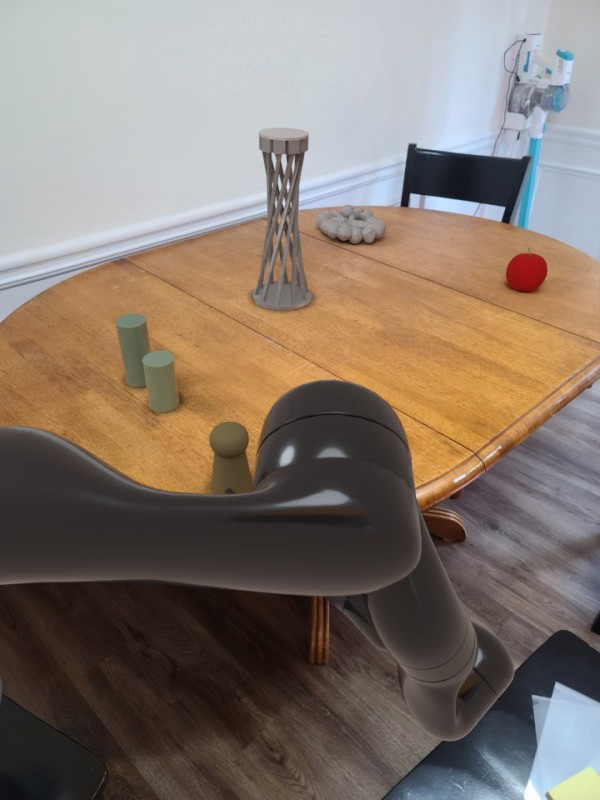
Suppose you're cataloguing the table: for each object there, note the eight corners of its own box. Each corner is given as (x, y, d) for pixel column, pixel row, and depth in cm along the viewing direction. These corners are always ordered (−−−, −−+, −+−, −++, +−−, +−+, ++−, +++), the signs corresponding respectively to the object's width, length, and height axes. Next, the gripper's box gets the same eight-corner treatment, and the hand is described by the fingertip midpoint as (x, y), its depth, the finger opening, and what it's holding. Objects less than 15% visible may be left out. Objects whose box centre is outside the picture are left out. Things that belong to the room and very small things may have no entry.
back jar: (134, 390, 99) (123, 330, 92) (121, 378, 102) (110, 318, 95) (159, 381, 101) (151, 321, 94) (147, 369, 104) (138, 310, 97)
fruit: (531, 280, 142) (542, 241, 136) (548, 295, 135) (560, 255, 129) (496, 280, 141) (506, 242, 135) (511, 296, 134) (522, 256, 128)
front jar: (158, 416, 93) (151, 370, 88) (144, 401, 96) (136, 356, 91) (184, 405, 96) (179, 360, 90) (170, 391, 99) (164, 347, 93)
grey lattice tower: (315, 309, 126) (324, 140, 105) (255, 312, 124) (252, 140, 103) (305, 283, 136) (311, 125, 116) (250, 285, 135) (246, 125, 114)
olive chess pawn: (251, 505, 77) (249, 445, 71) (207, 504, 77) (201, 443, 71) (255, 475, 82) (253, 415, 76) (214, 473, 82) (208, 414, 76)
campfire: (401, 234, 166) (404, 214, 163) (358, 253, 153) (360, 232, 150) (343, 216, 178) (344, 197, 174) (298, 232, 165) (299, 212, 161)
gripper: (388, 509, 64) (299, 435, 74) (288, 573, 56) (204, 481, 67) (380, 552, 68) (297, 477, 78) (287, 616, 61) (208, 524, 71)
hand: (255, 479), depth 72 cm, fingers open, 8 cm apart
